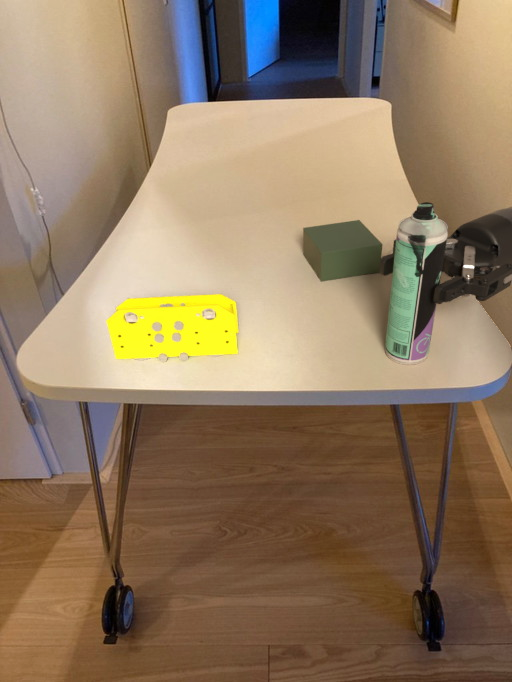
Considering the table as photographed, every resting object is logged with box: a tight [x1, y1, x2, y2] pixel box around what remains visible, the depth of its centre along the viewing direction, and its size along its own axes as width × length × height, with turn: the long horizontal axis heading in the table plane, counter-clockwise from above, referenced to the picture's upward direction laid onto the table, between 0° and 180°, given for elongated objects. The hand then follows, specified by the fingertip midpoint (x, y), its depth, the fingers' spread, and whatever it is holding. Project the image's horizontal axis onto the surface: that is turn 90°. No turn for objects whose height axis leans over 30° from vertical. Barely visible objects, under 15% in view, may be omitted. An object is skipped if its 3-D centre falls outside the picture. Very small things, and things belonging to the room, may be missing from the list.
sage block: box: [302, 219, 383, 282], centre depth 90 cm, size 10×10×5 cm
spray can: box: [384, 201, 449, 366], centre depth 65 cm, size 6×6×20 cm
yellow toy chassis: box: [105, 293, 240, 363], centre depth 72 cm, size 16×6×8 cm, turn 90°
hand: (408, 281), depth 64 cm, fingers open, 8 cm apart
